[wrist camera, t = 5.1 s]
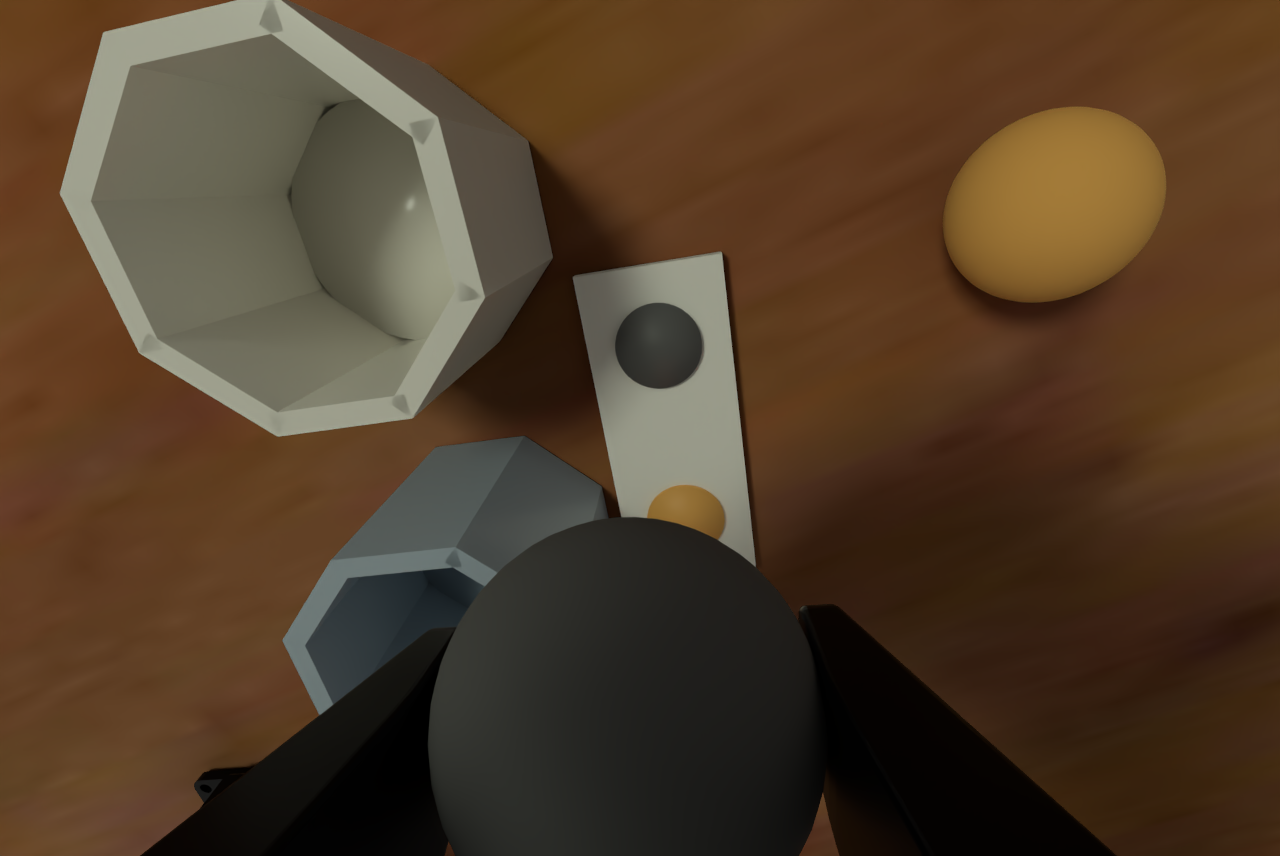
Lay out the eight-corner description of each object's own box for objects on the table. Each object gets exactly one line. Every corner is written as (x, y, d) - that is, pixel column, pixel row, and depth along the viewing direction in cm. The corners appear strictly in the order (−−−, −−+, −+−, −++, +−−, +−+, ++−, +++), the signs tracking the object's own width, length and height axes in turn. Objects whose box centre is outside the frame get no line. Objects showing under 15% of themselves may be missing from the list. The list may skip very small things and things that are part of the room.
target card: (755, 563, 19) (756, 573, 19) (635, 574, 20) (634, 584, 19) (720, 251, 16) (722, 253, 15) (574, 275, 16) (571, 278, 16)
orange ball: (1076, 274, 15) (1200, 303, 12) (915, 297, 16) (986, 332, 12) (1095, 101, 14) (1246, 72, 10) (917, 133, 14) (998, 117, 11)
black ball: (794, 692, 9) (878, 1075, 5) (528, 703, 9) (422, 1063, 5) (784, 442, 7) (896, 722, 3) (467, 470, 8) (259, 745, 4)
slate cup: (628, 611, 20) (608, 770, 15) (438, 628, 21) (354, 783, 16) (589, 427, 18) (547, 537, 12) (375, 455, 19) (247, 569, 13)
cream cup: (568, 331, 17) (513, 404, 11) (342, 365, 18) (186, 448, 12) (508, 47, 14) (397, -39, 9) (245, 103, 15) (-7, 58, 10)
